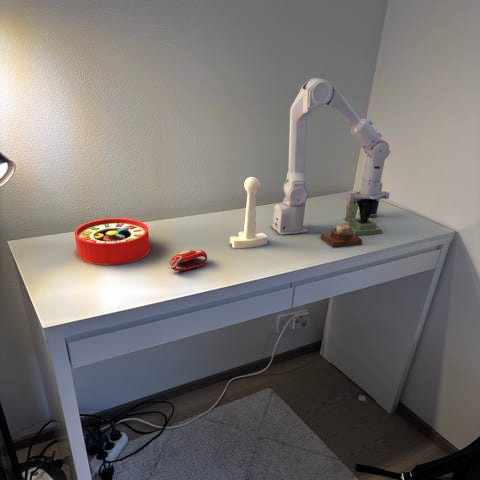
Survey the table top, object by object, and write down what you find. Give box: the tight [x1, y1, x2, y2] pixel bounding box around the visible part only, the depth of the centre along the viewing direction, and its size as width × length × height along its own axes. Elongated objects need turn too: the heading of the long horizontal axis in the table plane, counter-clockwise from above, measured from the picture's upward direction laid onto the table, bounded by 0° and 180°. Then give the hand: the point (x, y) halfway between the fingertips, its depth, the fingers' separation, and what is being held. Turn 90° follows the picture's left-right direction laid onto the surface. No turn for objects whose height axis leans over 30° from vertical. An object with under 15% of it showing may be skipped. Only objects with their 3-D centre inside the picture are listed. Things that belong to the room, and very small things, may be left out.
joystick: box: [229, 176, 268, 249], centre depth 129 cm, size 11×8×20 cm
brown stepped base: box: [320, 226, 363, 248], centre depth 137 cm, size 10×8×3 cm
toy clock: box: [73, 217, 151, 266], centre depth 125 cm, size 20×6×20 cm
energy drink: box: [369, 181, 383, 218], centre depth 157 cm, size 5×5×12 cm
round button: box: [336, 223, 349, 234], centre depth 136 cm, size 4×4×2 cm
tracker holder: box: [168, 249, 208, 272], centre depth 118 cm, size 12×4×10 cm
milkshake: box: [345, 200, 359, 222], centre depth 153 cm, size 4×5×10 cm
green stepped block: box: [342, 217, 383, 237], centre depth 146 cm, size 10×8×3 cm
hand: (363, 221), depth 145 cm, fingers closed, pressing on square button
